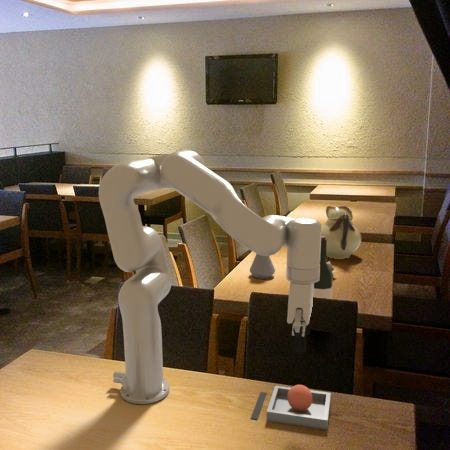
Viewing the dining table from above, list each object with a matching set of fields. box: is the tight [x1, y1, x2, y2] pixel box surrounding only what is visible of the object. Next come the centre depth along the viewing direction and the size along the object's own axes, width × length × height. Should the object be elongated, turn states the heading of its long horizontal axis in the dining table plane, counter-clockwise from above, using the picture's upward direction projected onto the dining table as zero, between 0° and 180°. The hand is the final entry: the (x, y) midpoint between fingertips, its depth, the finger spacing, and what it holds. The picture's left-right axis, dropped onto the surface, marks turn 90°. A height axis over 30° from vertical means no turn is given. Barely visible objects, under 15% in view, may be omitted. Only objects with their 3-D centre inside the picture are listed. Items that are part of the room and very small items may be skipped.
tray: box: [266, 385, 332, 431], centre depth 121 cm, size 14×12×2 cm
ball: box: [287, 384, 312, 411], centre depth 120 cm, size 6×6×6 cm
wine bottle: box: [313, 236, 334, 300], centre depth 174 cm, size 8×8×30 cm
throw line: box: [250, 391, 267, 421], centre depth 123 cm, size 2×12×1 cm, turn 165°
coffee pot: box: [249, 253, 276, 280], centre depth 229 cm, size 21×12×15 cm, turn 152°
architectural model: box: [326, 261, 337, 277], centre depth 221 cm, size 3×7×7 cm, turn 142°
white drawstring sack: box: [321, 205, 362, 260], centre depth 254 cm, size 22×24×25 cm
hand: (300, 342), depth 117 cm, fingers open, 9 cm apart
